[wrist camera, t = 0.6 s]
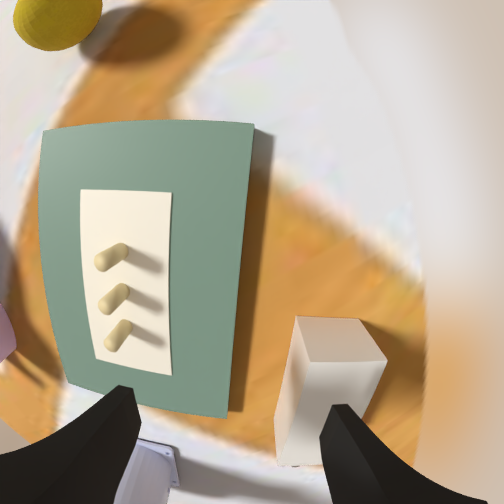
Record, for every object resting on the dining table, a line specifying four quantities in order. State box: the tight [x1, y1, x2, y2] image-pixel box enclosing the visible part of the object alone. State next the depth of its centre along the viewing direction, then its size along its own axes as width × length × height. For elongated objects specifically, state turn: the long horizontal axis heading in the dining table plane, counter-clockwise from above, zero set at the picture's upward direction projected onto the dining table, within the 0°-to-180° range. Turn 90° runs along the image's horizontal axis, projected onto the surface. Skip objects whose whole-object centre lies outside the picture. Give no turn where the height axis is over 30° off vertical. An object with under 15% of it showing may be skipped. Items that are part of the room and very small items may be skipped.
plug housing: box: [274, 316, 388, 467], centre depth 17 cm, size 14×4×5 cm, turn 174°
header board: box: [38, 120, 254, 419], centre depth 15 cm, size 20×14×4 cm
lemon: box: [13, 0, 103, 51], centre depth 8 cm, size 6×6×8 cm
